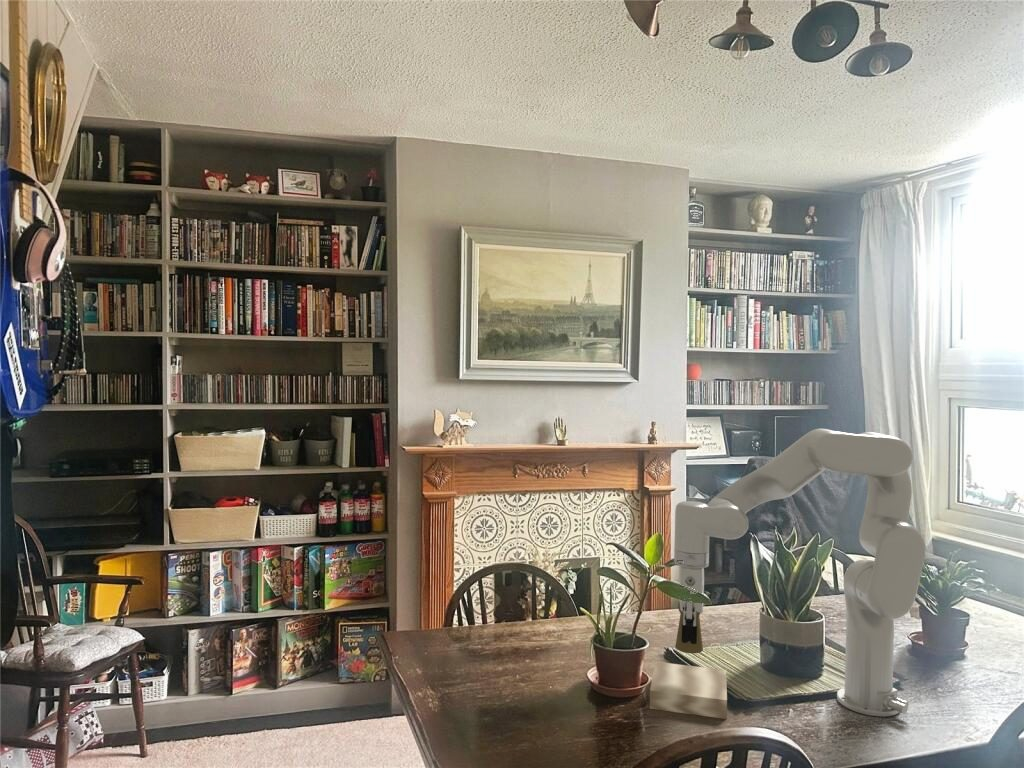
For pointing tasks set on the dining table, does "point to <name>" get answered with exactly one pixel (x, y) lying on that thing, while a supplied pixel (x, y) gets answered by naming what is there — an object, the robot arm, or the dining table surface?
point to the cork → (688, 646)
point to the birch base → (689, 690)
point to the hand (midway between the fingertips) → (689, 638)
